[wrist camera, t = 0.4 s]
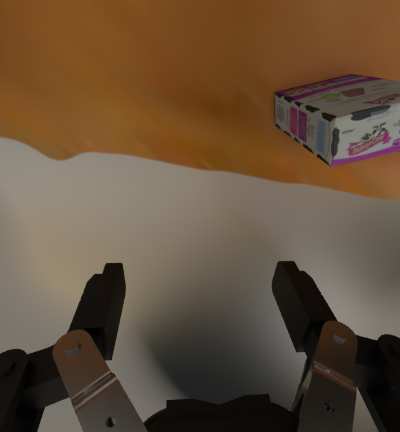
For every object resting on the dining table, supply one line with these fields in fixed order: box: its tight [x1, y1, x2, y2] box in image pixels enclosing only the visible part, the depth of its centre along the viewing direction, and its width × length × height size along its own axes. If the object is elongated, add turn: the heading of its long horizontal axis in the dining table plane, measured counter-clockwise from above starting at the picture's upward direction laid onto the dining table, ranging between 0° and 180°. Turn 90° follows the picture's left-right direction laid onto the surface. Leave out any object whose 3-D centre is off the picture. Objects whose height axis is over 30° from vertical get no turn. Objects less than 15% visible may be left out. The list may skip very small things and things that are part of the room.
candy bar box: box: [274, 74, 400, 168], centre depth 30 cm, size 11×5×16 cm, turn 102°
